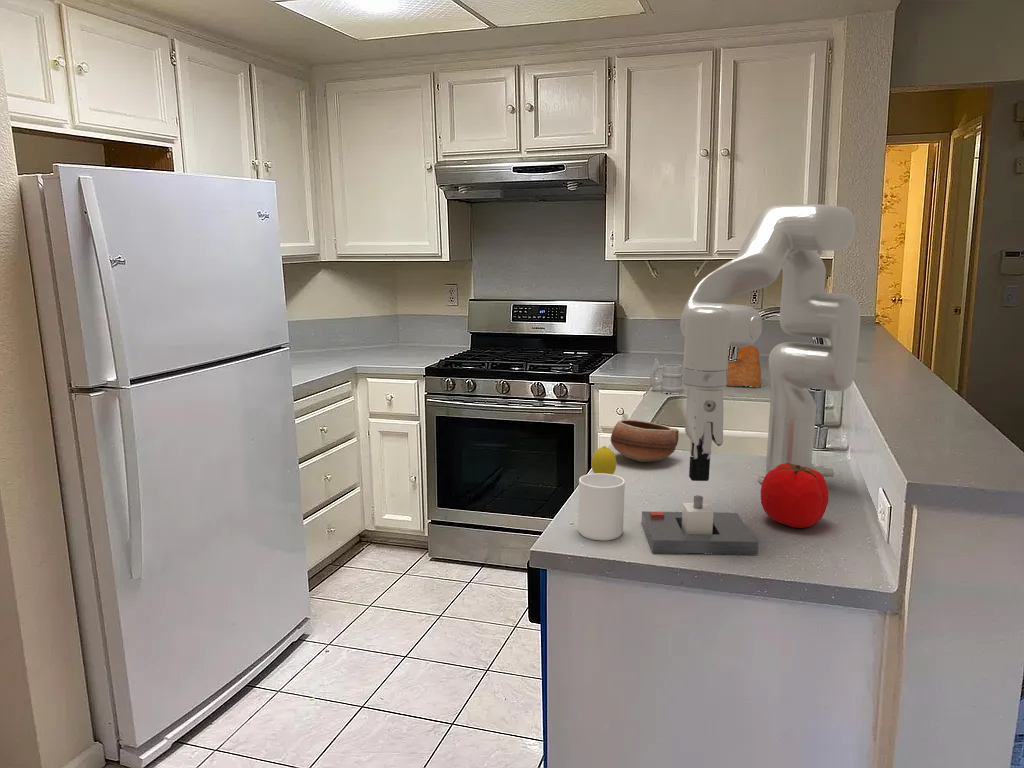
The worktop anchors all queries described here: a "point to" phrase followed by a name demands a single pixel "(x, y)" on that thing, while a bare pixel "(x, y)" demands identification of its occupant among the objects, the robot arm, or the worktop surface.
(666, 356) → the worktop surface
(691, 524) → the plug
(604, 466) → the lemon
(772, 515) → the tomato
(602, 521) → the cup
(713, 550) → the socket
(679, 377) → the mug
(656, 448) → the bowl
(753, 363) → the bread
